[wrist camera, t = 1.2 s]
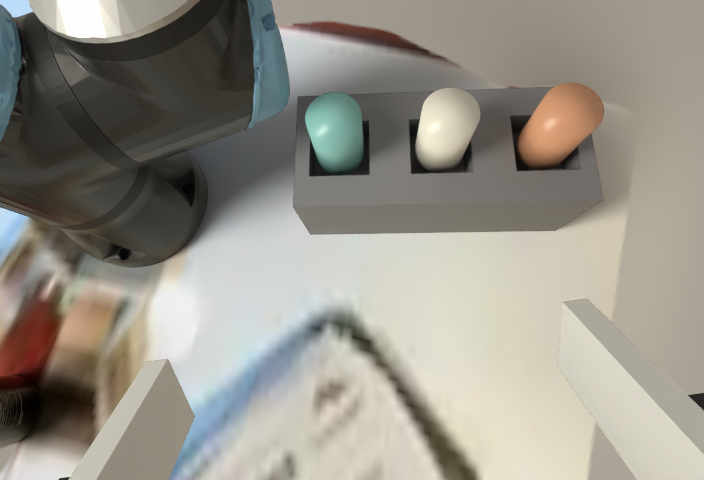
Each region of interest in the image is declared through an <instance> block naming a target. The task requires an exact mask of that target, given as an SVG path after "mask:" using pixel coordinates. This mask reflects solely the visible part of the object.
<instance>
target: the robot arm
mask: <svg viewBox="0 0 704 480" xmlns="http://www.w3.org/2000/svg"><path fill="white" fill-rule="evenodd" d="M28 1H29V4H30V7H31V8H32V10H33V12H32V13H28V14H26V15H23V16H20V17H16V18H15V17H12V16H11V14H10V13H9V12H8V11H7V10H6V9H5V8H4V7H3V6H2V5H0V207H1V208H4V209H7V210H10V211H13V212H16V213H19V214H22V215H25V216H28V217H31V218H34V219H37V220H39V221H42V222H45V223H49V224H51V225H54V226H57V227H59V228H60V229H61V230H62V231H63V232H64V233H65V234H66V235H67V236H68V237H69V238H70V239H71V240H72V241H73V242H75V243H76V244H77V245H78V246H79V247H80V248H81V249H82V250H83V251H85V252H86V253H87V254H89V255H91V256H92V257H94V258H96V259H99V260H101V261H104V262H107V263H111V264H114V265H118V266H123V267H142V266H148V265H152V264H155V263H157V262H160V261H162V260H164V259H166V258H168V257H170V256H171V255H173V254H174V253H176V252H177V251H178V250H180V249H181V248H182V247H183V246H184V245H185V244H186V243H187V242H188V241H189V240H190V239H191V237H192V236H193V235H194V233H195V232H196V230H197V229H198V227H199V225H200V223H201V221H202V218H203V216H204V212H205V208H206V203H207V187H206V182H205V179H204V176H203V173H202V171H201V169H200V168H199V166H198V164H197V163H196V162H195V161H194V160H193V159H192V158H191V157H190V156H189V155H188V154H187V153H186V152H185V151H187V150H190V149H192V148H195V147H198V146H201V145H203V144H206V143H209V142H212V141H214V140H217V139H220V138H223V137H225V136H228V135H231V134H234V133H236V132H239V131H242V130H245V129H250V128H252V127H253V126H254V125H255V124H256V123H258V122H260V121H262V120H265V119H267V118H269V117H271V116H273V115H275V114H277V113H279V112H280V111H282V110H283V109H284V107H285V106H286V104H287V102H288V99H289V94H290V83H289V74H288V68H287V62H286V57H285V52H284V48H283V43H282V39H281V36H280V32H279V29H278V26H277V24H276V23H275V16H274V12H273V7H272V2H271V0H28ZM558 369H559V370H560V372H561V373H562V374H563V376H564V377H565V379H566V380H567V381H568V383H569V384H570V386H571V387H572V389H573V390H574V391H575V393H576V394H577V396H578V397H579V398H580V400H581V401H582V403H583V404H584V406H585V407H586V408H587V410H588V411H589V413H590V414H591V415H592V417H593V418H594V420H595V421H596V423H597V424H598V425H599V427H600V428H601V429H602V431H603V432H604V434H605V435H606V437H607V438H608V439H609V441H610V442H611V443H612V445H613V446H614V448H615V449H616V451H617V452H618V454H619V455H620V456H621V458H622V459H623V461H624V462H625V464H626V465H627V466H628V468H629V469H630V471H631V472H632V473H633V475H634V476H635V478H636V479H637V480H704V393H701V394H693V395H687V394H686V393H685V392H684V391H683V390H682V389H681V388H680V387H679V386H678V385H676V384H675V383H674V382H673V381H672V380H671V379H670V378H669V377H668V376H667V375H666V374H665V373H664V372H663V371H662V370H661V369H660V368H659V367H658V366H657V365H656V364H655V363H654V362H653V361H651V360H650V359H649V358H648V357H647V356H646V355H645V354H644V353H643V352H642V351H641V350H640V349H639V348H638V347H637V346H636V345H635V344H634V343H633V342H632V341H631V340H630V339H628V337H627V336H625V335H624V334H623V333H622V332H621V331H620V330H619V329H618V328H617V327H616V326H615V325H614V324H613V323H612V322H611V321H610V320H609V319H608V318H607V317H606V316H605V315H604V314H603V313H602V312H601V311H600V310H598V309H597V308H596V307H595V306H594V305H593V304H592V303H591V302H590V301H589V300H588V299H580V300H573V301H566V302H563V306H562V318H561V330H560V343H559V355H558ZM194 417H195V416H194V414H193V412H192V410H191V407H190V405H189V403H188V401H187V399H186V397H185V395H184V392H183V390H182V388H181V386H180V384H179V382H178V379H177V377H176V375H175V373H174V371H173V369H172V366H171V364H170V362H169V360H168V359H163V360H156V361H149V362H146V363H145V364H144V366H143V367H142V369H141V370H140V372H139V373H138V375H137V376H136V378H135V379H134V381H133V382H132V384H131V386H130V387H129V389H128V390H127V392H126V393H125V395H124V396H123V398H122V399H121V401H120V402H119V404H118V405H117V407H116V408H115V410H114V411H113V413H112V414H111V416H110V417H109V419H108V420H107V422H106V423H105V425H104V426H103V428H102V429H101V431H100V432H99V434H98V435H97V437H96V438H95V440H94V442H93V443H92V445H91V446H90V448H89V449H88V451H87V452H86V454H85V455H84V457H83V458H82V460H81V461H80V463H79V464H78V466H77V467H76V469H75V470H74V472H73V473H72V475H71V476H70V477H66V478H60V479H59V480H168V479H169V477H170V474H171V472H172V470H173V467H174V465H175V463H176V460H177V458H178V455H179V453H180V451H181V448H182V446H183V444H184V441H185V439H186V436H187V434H188V432H189V429H190V427H191V425H192V422H193V420H194Z"/></svg>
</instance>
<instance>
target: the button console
mask: <svg viewBox="0 0 704 480" xmlns="http://www.w3.org/2000/svg"><path fill="white" fill-rule="evenodd" d="M552 88H553V87H535V88H509V89H483V90H464V91H466V92H468V93H469V94H471V95H472V96H473V97H474V98H475V100H476V101H477V103H478V105H479V108H480V120H479V123H478V125H477V127H476V129H475V131H474V133H473V136H472V138H471V140H470V142H469V144H468V146H467V149H466V151H465V153H464V155H463V157H462V160H461V161H460V163H459V164H458V165H457V166H456V167H455V168H454V169H452V170H450V171H447V172H443V173H436V172H431V171H429V170H427V169H425V168H424V167H422V166H421V165H420V164H419V162H418V161H417V159H416V157H415V152H414V149H415V143H416V138H417V133H418V127H419V122H420V117H421V112H422V107H423V104H424V102H425V100H426V99H427V98H428V96H429V95H431V94H432V93H433V92H435V91H430V92H404V93H378V94H352V95H349V96H350V97H352V98H353V99H354V100H355V101H356V102H357V103H358V105H359V107H360V109H361V114H362V128H363V143H364V158H363V161H362V163H361V164H360V166H359V167H358V168H357V169H356V170H355V171H353V172H351V173H349V174H346V175H333V174H330V173H328V172H326V171H325V170H324V169H323V168H322V167H321V166H320V164H319V162H318V160H317V157H316V154H315V150H314V147H313V144H312V141H311V138H310V135H309V132H308V129H307V126H306V122H305V115H306V111H307V109H308V107H309V105H310V104H311V103H312V102H313V101H314V100H315V99H316V98H317V97H319V96H300V97H298V103H297V126H296V149H295V173H294V196H293V207H294V209H295V211H296V212H297V214H298V215H299V217H300V219H301V220H302V222H303V223H304V225H305V227H306V228H307V230H308V231H309V233H310V235H311V234H373V233H435V232H497V231H555V230H557V229H558V228H560V227H561V226H563V225H564V224H566V223H568V222H569V221H571V220H572V219H574V218H576V217H577V216H579V215H580V214H582V213H584V212H585V211H587V210H588V209H590V208H591V207H593V206H595V205H596V204H598V203H599V202H601V201H603V197H602V192H601V186H600V180H599V175H598V169H597V163H596V158H595V152H594V146H593V141H592V135H591V133H590V134H589V135H588V136H587V137H586V138H585V139H584V140H583V141H582V142H581V143H580V144H579V145H578V146H577V147H576V148H575V149H574V150H573V151H572V152H571V153H570V154H569V155H568V156H567V157H566V158H565V159H564V160H563V161H562V162H561V163H560V164H559V165H557V166H556V167H554V168H552V169H548V170H537V169H533V168H531V167H529V166H527V165H525V164H524V163H523V162H522V161H521V160H520V159H519V157H518V156H517V153H516V150H515V142H516V139H517V137H518V135H519V134H520V132H521V131H522V129H523V128H524V126H525V125H526V123H527V122H528V120H529V119H530V117H531V116H532V114H533V113H534V111H535V110H536V109H537V107H538V106H539V104H540V103H541V101H542V100H543V98H544V97H545V95H546V94H547V93H548V91H550V90H551V89H552Z"/></svg>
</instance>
